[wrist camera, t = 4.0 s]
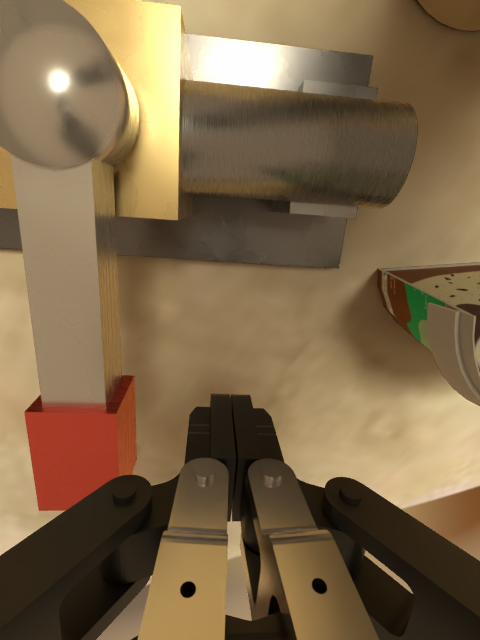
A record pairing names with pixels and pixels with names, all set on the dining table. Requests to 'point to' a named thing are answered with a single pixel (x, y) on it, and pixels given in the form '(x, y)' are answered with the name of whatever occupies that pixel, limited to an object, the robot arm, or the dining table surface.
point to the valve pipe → (240, 144)
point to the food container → (440, 316)
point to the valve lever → (69, 240)
